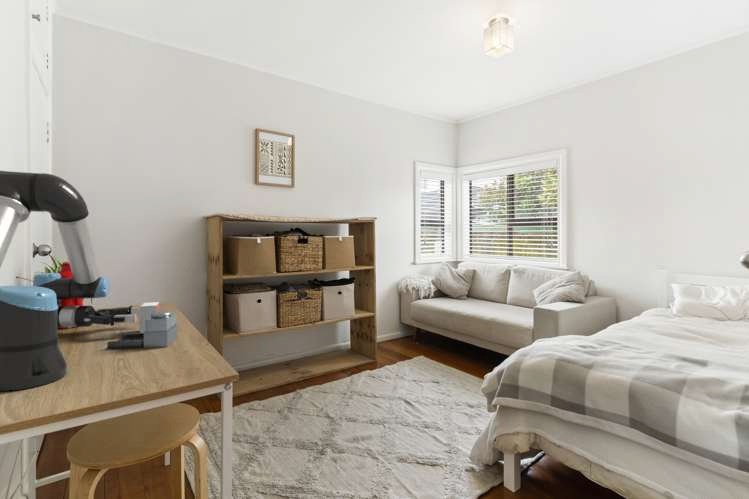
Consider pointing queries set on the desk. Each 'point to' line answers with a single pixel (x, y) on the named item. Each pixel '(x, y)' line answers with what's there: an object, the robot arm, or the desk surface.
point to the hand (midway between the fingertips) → (143, 314)
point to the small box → (147, 313)
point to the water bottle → (67, 273)
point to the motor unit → (150, 333)
